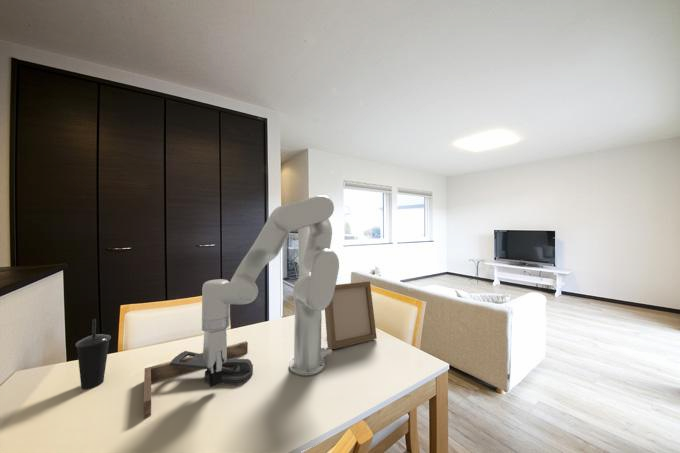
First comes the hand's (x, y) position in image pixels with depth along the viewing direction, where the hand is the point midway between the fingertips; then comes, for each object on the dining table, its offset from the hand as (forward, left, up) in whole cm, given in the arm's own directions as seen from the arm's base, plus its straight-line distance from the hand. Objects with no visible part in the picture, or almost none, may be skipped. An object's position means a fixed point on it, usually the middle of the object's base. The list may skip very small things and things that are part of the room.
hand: (215, 383), depth 73 cm
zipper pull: (-1, -8, -3) cm, 9 cm away
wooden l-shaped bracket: (0, -9, -2) cm, 9 cm away
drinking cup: (+29, -26, -2) cm, 39 cm away
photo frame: (-54, -3, -3) cm, 54 cm away
